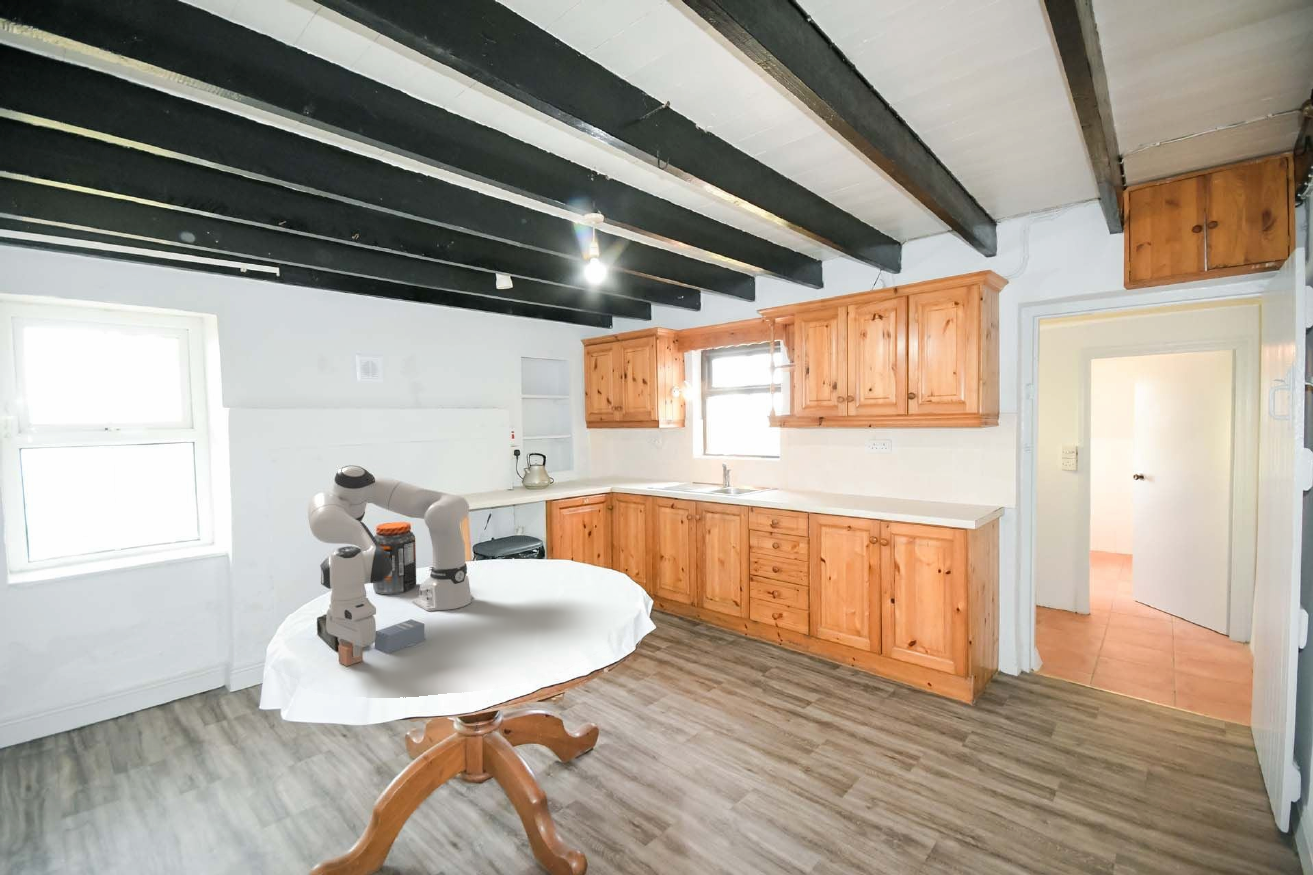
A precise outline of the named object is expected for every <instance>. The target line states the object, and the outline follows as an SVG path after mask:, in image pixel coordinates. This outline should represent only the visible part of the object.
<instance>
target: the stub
mask: <svg viewBox="0 0 1313 875" xmlns="http://www.w3.org/2000/svg"><path fill="white" fill-rule="evenodd" d="M353 649H354V646H353V643H351V642H347V643H344V644H341V645H338V651H337V652H338V663H339V664H342V665H344V666H346V667H349V666H351V665H354V664H357V663H359V662H362V661H364V657H363V652H364V651H363V647H362V648H361V650H360V651H361V655H360V657H358V658H354V657H352V654H351V651H353Z"/></svg>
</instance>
